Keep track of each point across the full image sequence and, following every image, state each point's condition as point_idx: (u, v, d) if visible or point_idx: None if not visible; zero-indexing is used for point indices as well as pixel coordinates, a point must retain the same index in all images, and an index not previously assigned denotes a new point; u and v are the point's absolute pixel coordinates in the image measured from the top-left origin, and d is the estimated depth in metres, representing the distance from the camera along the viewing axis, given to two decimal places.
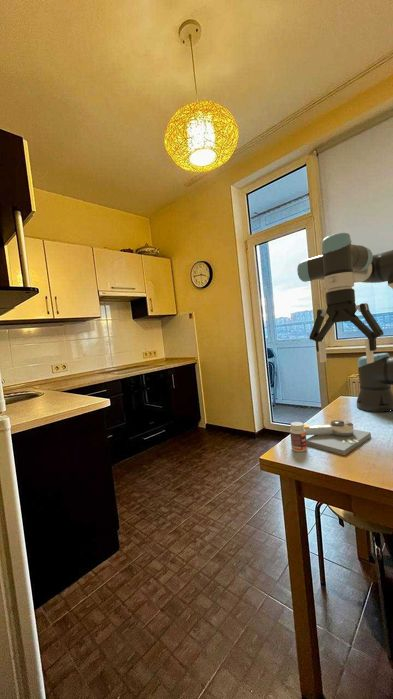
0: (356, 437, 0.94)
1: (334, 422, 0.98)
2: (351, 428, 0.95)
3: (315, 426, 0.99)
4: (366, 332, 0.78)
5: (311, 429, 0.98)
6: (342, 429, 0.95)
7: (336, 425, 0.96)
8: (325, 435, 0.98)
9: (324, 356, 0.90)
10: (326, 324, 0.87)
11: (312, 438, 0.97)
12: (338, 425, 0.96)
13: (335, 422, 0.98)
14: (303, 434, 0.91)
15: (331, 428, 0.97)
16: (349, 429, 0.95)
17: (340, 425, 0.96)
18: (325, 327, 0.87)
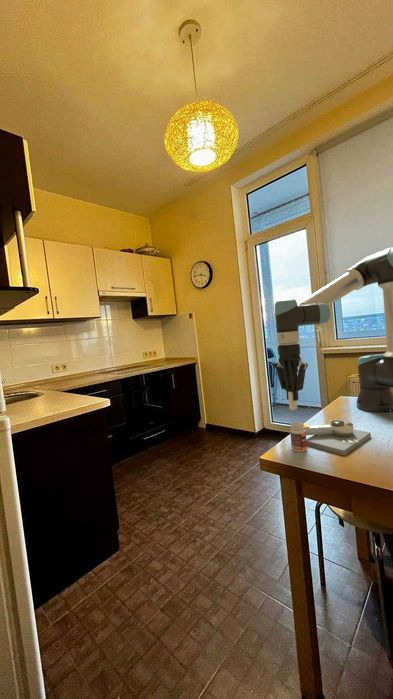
0: (356, 437, 0.94)
1: (334, 422, 0.98)
2: (351, 428, 0.95)
3: (315, 426, 0.99)
4: (293, 385, 1.01)
5: (311, 429, 0.98)
6: (342, 429, 0.95)
7: (336, 425, 0.96)
8: (325, 435, 0.98)
9: None
10: (285, 374, 1.03)
11: (312, 438, 0.97)
12: (338, 425, 0.96)
13: (335, 422, 0.98)
14: (303, 434, 0.91)
15: (331, 428, 0.97)
16: (349, 429, 0.95)
17: (340, 425, 0.96)
18: (286, 376, 1.03)
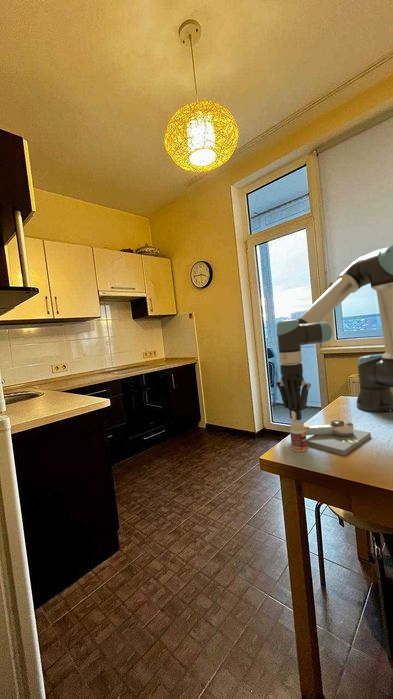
0: (356, 437, 0.94)
1: (334, 422, 0.98)
2: (351, 428, 0.95)
3: (315, 426, 0.99)
4: (296, 405, 1.02)
5: (311, 429, 0.98)
6: (342, 429, 0.95)
7: (336, 425, 0.96)
8: (325, 435, 0.98)
9: None
10: (288, 393, 1.04)
11: (312, 438, 0.97)
12: (338, 425, 0.96)
13: (335, 422, 0.98)
14: (303, 434, 0.91)
15: (331, 428, 0.97)
16: (349, 429, 0.95)
17: (340, 425, 0.96)
18: (289, 395, 1.04)
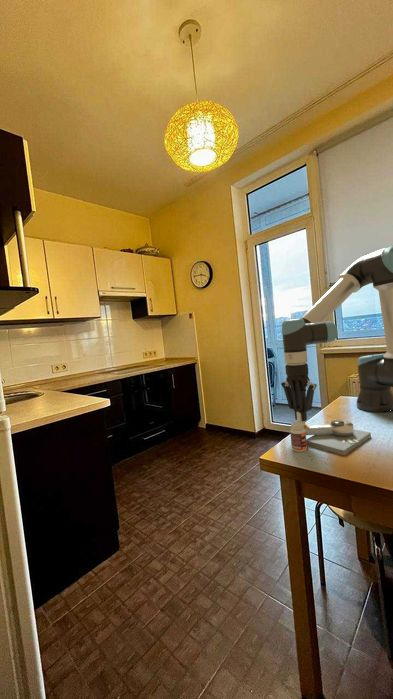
0: (356, 437, 0.94)
1: (334, 422, 0.98)
2: (351, 428, 0.95)
3: (315, 426, 0.99)
4: (301, 406, 1.00)
5: (311, 429, 0.98)
6: (342, 429, 0.95)
7: (336, 425, 0.96)
8: (325, 435, 0.98)
9: None
10: (293, 393, 1.02)
11: (312, 438, 0.97)
12: (338, 425, 0.96)
13: (335, 422, 0.98)
14: (303, 434, 0.91)
15: (331, 428, 0.97)
16: (349, 429, 0.95)
17: (340, 425, 0.96)
18: (294, 396, 1.02)
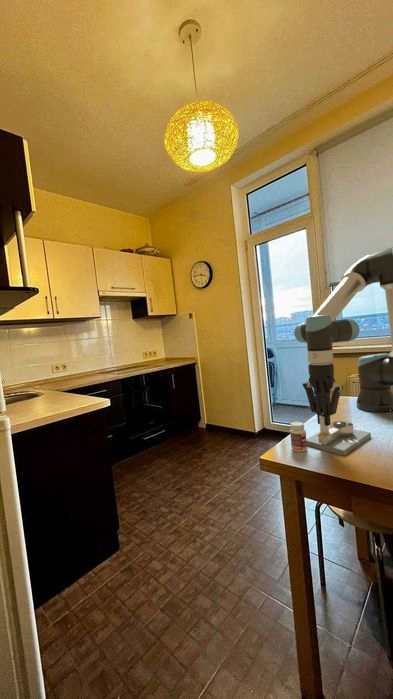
0: (356, 437, 0.94)
1: (338, 423, 0.96)
2: None
3: (328, 432, 0.93)
4: (325, 409, 0.92)
5: (329, 436, 0.91)
6: (350, 428, 0.95)
7: (343, 426, 0.95)
8: None
9: None
10: (316, 396, 0.94)
11: (312, 438, 0.97)
12: (344, 425, 0.95)
13: (338, 423, 0.97)
14: (303, 434, 0.91)
15: (339, 430, 0.95)
16: None
17: (345, 425, 0.96)
18: (317, 398, 0.94)
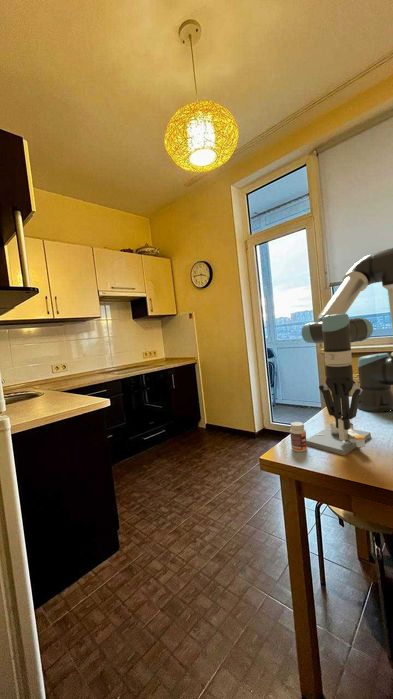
0: None
1: None
2: None
3: (352, 434, 0.90)
4: (344, 413, 0.88)
5: None
6: None
7: None
8: (325, 435, 0.98)
9: None
10: (334, 398, 0.90)
11: (312, 438, 0.97)
12: None
13: None
14: (303, 434, 0.91)
15: None
16: None
17: None
18: (335, 401, 0.90)
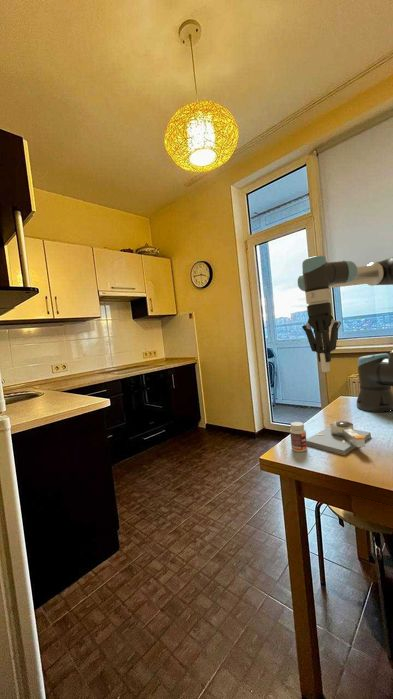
0: None
1: (344, 424, 0.96)
2: None
3: (352, 434, 0.90)
4: (325, 346, 0.98)
5: None
6: None
7: (349, 424, 0.96)
8: (325, 435, 0.98)
9: None
10: (316, 335, 1.00)
11: (312, 438, 0.97)
12: None
13: (344, 423, 0.96)
14: (303, 434, 0.91)
15: None
16: None
17: None
18: (317, 337, 0.99)
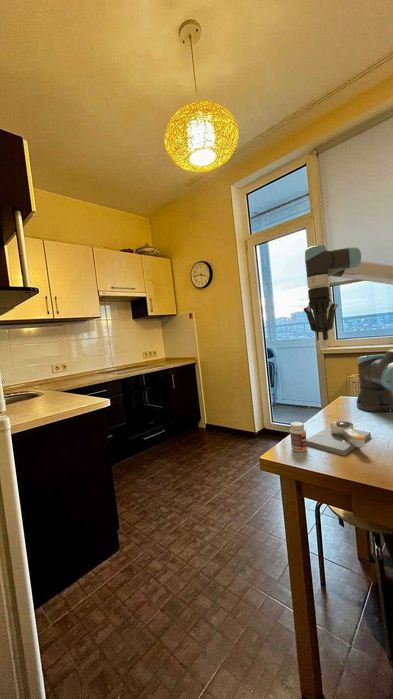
0: None
1: (344, 424, 0.96)
2: None
3: (352, 434, 0.90)
4: (323, 326, 1.10)
5: None
6: None
7: (349, 424, 0.96)
8: (325, 435, 0.98)
9: None
10: (315, 316, 1.12)
11: (312, 438, 0.97)
12: None
13: (344, 423, 0.96)
14: (303, 434, 0.91)
15: None
16: None
17: None
18: (316, 318, 1.12)
